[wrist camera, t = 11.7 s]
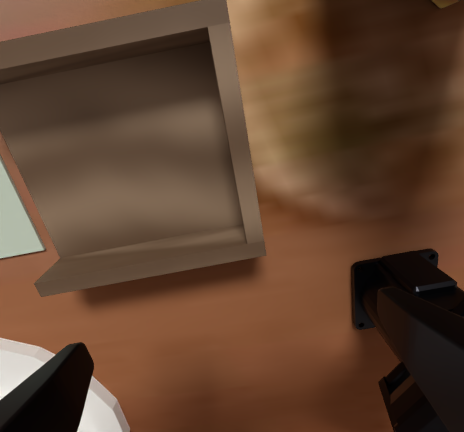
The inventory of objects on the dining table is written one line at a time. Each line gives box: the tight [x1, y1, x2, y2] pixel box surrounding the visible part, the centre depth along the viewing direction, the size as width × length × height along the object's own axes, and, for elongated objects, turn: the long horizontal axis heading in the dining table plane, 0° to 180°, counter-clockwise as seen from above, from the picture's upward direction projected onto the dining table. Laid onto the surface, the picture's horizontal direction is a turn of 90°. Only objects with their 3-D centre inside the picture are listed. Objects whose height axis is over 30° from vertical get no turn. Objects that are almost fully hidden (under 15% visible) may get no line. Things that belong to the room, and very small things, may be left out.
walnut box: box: [0, 0, 266, 297], centre depth 16 cm, size 13×14×4 cm
